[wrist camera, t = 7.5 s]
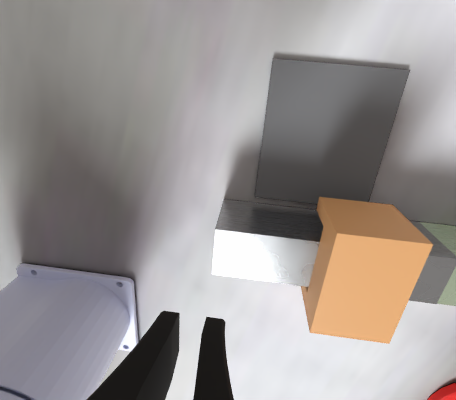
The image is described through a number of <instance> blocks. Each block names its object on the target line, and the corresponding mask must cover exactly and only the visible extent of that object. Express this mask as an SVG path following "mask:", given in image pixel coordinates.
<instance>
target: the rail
mask: <svg viewBox="0 0 456 400" xmlns="http://www.w3.org/2000/svg"><path fill="white" fill-rule="evenodd" d="M410 222H411V223H412V224H413V225H414V226H415V227H416V228H417V229H418V230H419V231H420V232H421V233H422V234H423V235H424V236H425V237H426V238H427V239H428V240H429V241H430V242H431V243H432V244H433V246H432V249H431V251H430V253H429V255H428V258H427V260H426V262H425V264H424V267H423V269H422V271H421V273H420V276H419V278H418V280H417V282H416V285H415V287H414V289H413V291H412V294H411V296H410V298H409V300H410V301H417V302H425V303H432V304H445V305H452V306H456V226H451V225H443V224H434V223H425V222H417V221H410ZM322 231H323V224H322V222H321V219H320V217H319V215H318V212H317V210H314V209H305V208H296V207H288V206H279V205H271V204H262V203H253V202H245V201H236V200H228V199H224V200H223V204H222V207H221V211H220V214H219V218H218V221H217V225H216V228H215V239H214V253H213V267H212V274H215V275H222V276H230V277H237V278H245V279H252V280H260V281H267V282H275V283H282V284H290V285H297V286H305V287H309V283H310V279H311V275H312V271H313V267H314V263H315V259H316V255H317V251H318V247H319V243H320V239H321V235H322Z"/></svg>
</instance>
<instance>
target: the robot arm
mask: <svg viewBox="0 0 456 400" xmlns="http://www.w3.org/2000/svg"><path fill="white" fill-rule="evenodd" d="M16 270H17V274H18V277H17V278H15V279H14V280H13V281H12V282H11V283H9V284H8V285H7V286H6V287H5V288H3V289H2V290H1V291H0V400H165V398H166V395H167V392H168V390H169V387H170V384H171V381H172V377H173V373H174V369H175V365H176V361H177V357H178V352H179V313H175V312H168V311H163V312H161V313H160V315H159V316H158V317H157V319H156V320H155V322H154V323H153V324H152V326H151V327H150V328H149V330H148V331H147V332H146V334H145V335H144V336H143V337H142V339H141V340H140V341H139V342H138V332H137V318H136V305H135V291H134V282H133V280H132V279H130V278H127V277H120V276H113V275H105V274H98V273H91V272H83V271H76V270H69V269H61V268H54V267H47V266H39V265H32V264H25V263H22V264H20V265H19V266H17V268H16ZM119 282H121V283H122V284H121V283H119ZM118 349H119V350H125V351H131V352H130V353H129V354H128V356H127V357H126V358H125V359H124V360H123V361H122V363H121V364H120V365H119V366H118V367H117V368H116V369H115V370H114V371H113V372H112V373H111V375H110V376H109V377H108V378H107V379H106V380H105V381H104V382H103V383H102V384H101V385H100V383H101V381H102V379H103V377H104V376H105V374H106V372H107V370H108V368H109V366H110V364H111V362H112V360H113V358H114V356H115V354H116V352H117V350H118ZM99 385H100V386H99ZM193 400H234V399H233V394H232V389H231V384H230V378H229V372H228V366H227V358H226V349H225V321H224V320H223V319H218V318H211V317H206V321H205V324H204V328H203V332H202V337H201V345H200V352H199V360H198V368H197V376H196V384H195V392H194V399H193Z"/></svg>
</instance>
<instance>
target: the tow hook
mask: <svg viewBox="0 0 456 400" xmlns="http://www.w3.org/2000/svg"><path fill="white" fill-rule="evenodd" d="M428 400H456V383H453V384H450V385H448V386H445V387H443V388H441V389H439V390H438V391H436V392H435V393H433V394H432V395H431V396H430V397H429V399H428Z"/></svg>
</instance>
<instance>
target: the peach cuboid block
mask: <svg viewBox="0 0 456 400" xmlns="http://www.w3.org/2000/svg"><path fill="white" fill-rule="evenodd" d="M316 210H317V212H318V215H319V217H320V219H321V222H322V224H323V231H322V235H321V239H320V243H319V247H318V251H317V255H316V259H315V263H314V267H313V271H312V275H311V279H310V283H309V287H305V286H301V289H302V294H303V300H304V305H305V310H306V315H307V320H308V325H309V330H310V333H316V334H323V335H331V336H338V337H345V338H352V339H359V340H367V341H374V342H381V343H388V344H389V343H390V341H391V338H392V336H393V334H394V332H395V329H396V327H397V325H398V323H399V320H400V318H401V316H402V314H403V311H404V309H405V307H406V305H407V302H408V300H409V298H410V296H411V294H412V291H413V289H414V287H415V285H416V282H417V280H418V278H419V276H420V273H421V271H422V269H423V267H424V264H425V262H426V260H427V258H428V255H429V253H430V251H431V249H432V246H433V244H432V243H431V242H430V241H429V240H428V239H427V238H426V237H425V236H424V235H423V234H422V233H421V232H420V231H419V230H418V229H417V228H416V227H415V226H414V225H413V224H412V223H411V222H410V221H409V220H408V219H407V218H406V217H405V216H404V215H403V214H402V213H401V212H400V211H399V210H398V209H397V208H396V207H395V206H393V205H390V204H381V203H372V202H363V201H354V200H344V199H335V198H326V197H319V200H318V205H317V209H316Z"/></svg>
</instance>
